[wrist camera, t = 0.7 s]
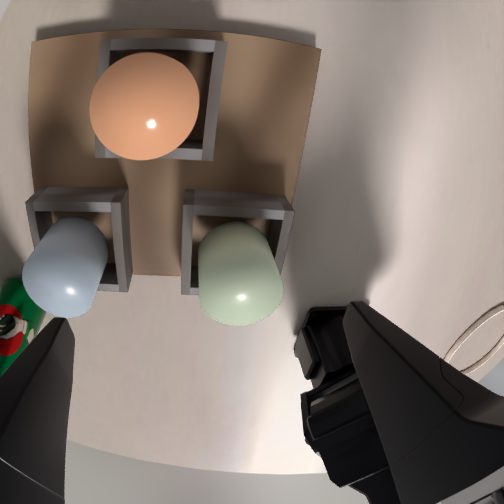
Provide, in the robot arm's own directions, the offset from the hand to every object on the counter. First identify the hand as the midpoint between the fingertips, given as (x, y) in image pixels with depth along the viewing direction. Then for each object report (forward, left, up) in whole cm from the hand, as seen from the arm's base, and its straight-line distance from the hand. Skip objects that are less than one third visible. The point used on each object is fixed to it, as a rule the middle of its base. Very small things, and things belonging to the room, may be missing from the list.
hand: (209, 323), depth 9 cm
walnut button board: (+3, -1, -13) cm, 13 cm away
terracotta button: (+3, -5, -10) cm, 11 cm away
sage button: (-2, +4, -10) cm, 11 cm away
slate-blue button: (+8, +4, -10) cm, 13 cm away
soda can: (+16, +11, -13) cm, 23 cm away
